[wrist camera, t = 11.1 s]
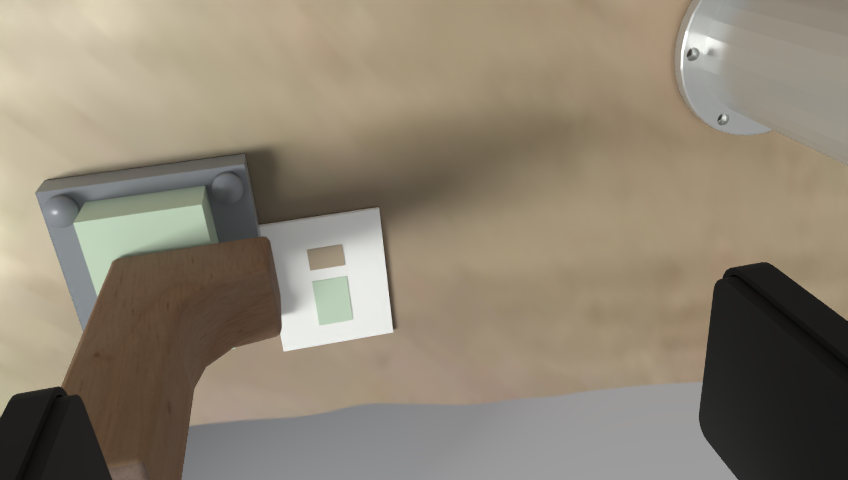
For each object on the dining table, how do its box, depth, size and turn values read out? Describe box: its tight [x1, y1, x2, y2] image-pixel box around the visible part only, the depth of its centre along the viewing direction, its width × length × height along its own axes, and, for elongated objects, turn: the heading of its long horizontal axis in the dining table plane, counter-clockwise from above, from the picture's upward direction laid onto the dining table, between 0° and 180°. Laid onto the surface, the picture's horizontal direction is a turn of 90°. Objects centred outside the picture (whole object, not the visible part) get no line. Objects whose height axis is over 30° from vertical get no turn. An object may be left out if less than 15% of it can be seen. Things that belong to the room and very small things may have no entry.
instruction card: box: [259, 207, 393, 351], centre depth 50 cm, size 8×10×1 cm
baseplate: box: [35, 154, 261, 349], centre depth 45 cm, size 12×12×5 cm
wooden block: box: [61, 236, 282, 480], centre depth 35 cm, size 9×4×18 cm, turn 95°
